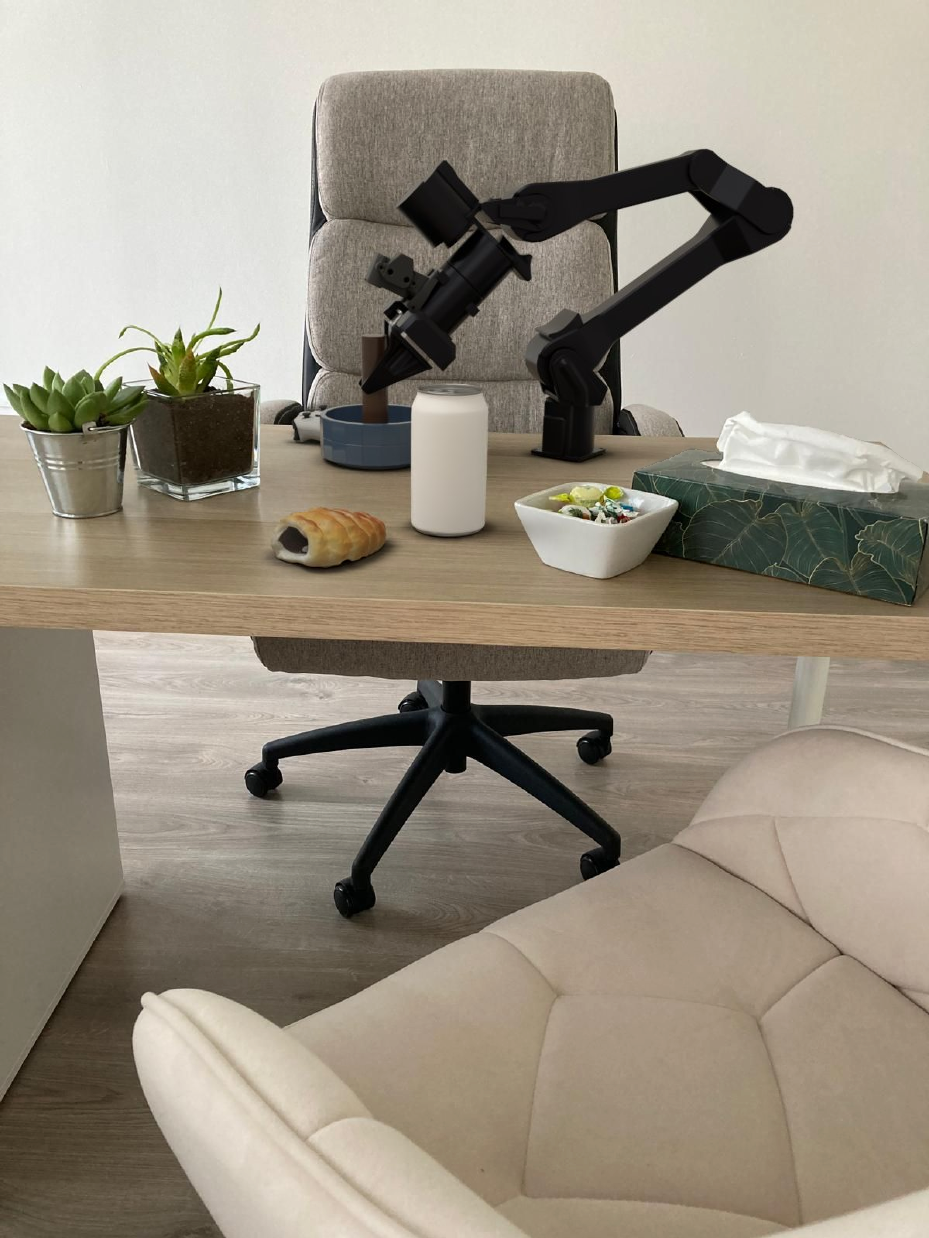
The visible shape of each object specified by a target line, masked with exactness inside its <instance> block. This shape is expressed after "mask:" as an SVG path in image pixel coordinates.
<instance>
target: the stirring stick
mask: <svg viewBox="0 0 929 1238" xmlns="http://www.w3.org/2000/svg"><path fill="white" fill-rule="evenodd" d="M386 348H387V335H384V334H383V333H365V334H360V360H361V363H360V364H361V377H362V384H363V383H364V381H365V380H366V378H367V377H368V375H369V374H370V372H371V371H372V369H373V368H374V366H375V365H376V363H377V362H378V360H379V359H380V357H381V356H382V354H383V353H384V351H385V350H386ZM361 404H362V408H363V423H370V424H384V423H389V420H388V404H389V386H388V387H385V388H383V389H381V390H378V391H376V392H374V393H371V394H369V395H367V394H366V393H365V392H364V391H363V390H362V389H361Z"/></svg>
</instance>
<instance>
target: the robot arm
mask: <svg viewBox="0 0 929 1238" xmlns="http://www.w3.org/2000/svg"><path fill="white" fill-rule="evenodd" d="M686 193H688V194H689V195H691V196H692V197H693V198H694V199H695V201H696V202H698V204H699V205H700V206H701V207H702V208H703V209H704V210H705V211H707V212H708V213H709V215H708V217H707V218H706V220H705V221H704V223H703V224H702V226H700V228H699V230H698V231H697V233H696V234H695V235H694V236H692V238H689V240H687V241H685V243H683V244H682V245H680V246H678V247H677V248H676V249H675V250H673V251H672V252H671V253H669V254H668V255H666V256H665V257H664V258H662V259H660V260H659V261H658V262H657V263H655V264H653V266H651V267H650V268H648V269H647V270H646V271H644V272H642V273H641V274H640V275H639V276H637V277H636V278H635V279H633V280H632V281H630V282H629V283H628V284H626V285H625V286H623V287H622V288H620V289H619V290H618V291H616V292H615V293H614V294H612V295H610V297H608V298H607V299H605V300H604V301H602V302H601V303H600V304H599V305H597V306H595V307H594V308H592V309H591V310H589V311H587V312H584V313H582V314H581V313H579V312H577V311H574V310H571V309H570V308H566V307H563V309H561V310H560V311H558V313H556V315H554V317H552V319H551V320H550V321H548V322H547V323H545V324H543V325H540V326H536V327H535V328H534V331H535V332H537V333H536V334H535V335H534V336H533V337H531V339H530V340H529V341H528V343H527V344H526V349H525V353H524V362H525V366H526V368H527V370H528V373H530V375H531V376H532V377H533V378H534V379H535V380H537V381H538V382H539V386H540V388H541V389H540V390H541V392H542V393H543V395H547V397H546V398H545V400H544V402H543V403H544V405H543V406H544V407H543V417H542V435H541V437H542V438H541V445H539V446H536V447H533V448H530V454H532V455H538V456H543V457H544V456H545V457H550V458H555V459H560V460H566V461H572V462H581V461H585V460H587V459H590V458H593V457H596V456H599V455H601V454H605V453H606V450H607V448H605V447H601V446H596V445H595V436H596V424H597V423H596V421H597V407H601V406H602V405H603V402H604V400H605V397H606V396H607V393H608V391H609V387H608V385H606V383H605V382H604V381H603V380H602V379H601V378H600V376H598V374H596V372H595V371H594V370H595V369H596V368H597V367H598V366H599V365H600V364H601V362H602V361H603V360H604V358H605V357H606V355H607V354H608V352H609V351H610V349H611V348H612V347H613V345H614V344H616V343H617V342H618V341H619V340H620V339H621V338H623V337H624V336H626V334H628V333H630V332H631V331H632V330H634V329H635V328H637V327H638V326H639V325H641V324H642V323H644V322H645V321H647V320H648V319H649V318H651V317H652V316H653V315H655V314H656V313H658V312H659V311H660V310H662V309H664V308H665V307H666V306H668V305H669V304H670V303H672V302H673V301H674V300H676V299H677V298H678V297H680V296H682V294H684V293H686V292H687V291H688V290H690V289H691V288H692V287H694V286H696V285H697V284H698V283H699V282H701V281H702V280H703V279H705V278H706V277H708V276H710V275H711V274H712V273H713V272H715V271H716V270H717V269H719V268H720V267H722V266H724V265H727V264H729V263H732V262H735V261H737V260H740V259H743V258H747V257H749V256H751V255H754V254H756V253H758V252H760V251H762V250H764V249H767V248H768V247H771V246H773V245H774V244H776V243H779V242H780V241H782V240H783V239H784V238H785V237H786V236H787V235H788V234H789V233H790V232H791V230H792V224H793V220H794V217H795V216H794V215H795V213H794V210H795V209H794V204H793V202H792V198H791V197H790V196H789V195H788V193H787V192H786V191H784V190H783V189H782V188H779V187H775V186H765V185H764V184H763V183H761V182H760V181H759V180H757V179H756V178H754V177H752V176H751V175H749V174H747V173H745V172H744V171H742V170H740V169H739V168H736V167H735V166H733V165H732V164H730V163H728V162H727V161H726V160H725V159H723V158H722V157H721V156H719V155H718V154H717V153H716V152H715V151H714V150H712V149H709V148H698V149H690V150H686V151H684V152H682V153H681V154H679V155H675V156H672V157H668V158H664V159H660V160H656V161H651V162H648V163H645V164H641V165H640V164H639V165H637V166H634V167H633V166H632V167H629V168H624V169H621V170H616V171H612V172H609V173H604V174H602V175H597V176H593V177H590V178H585V179H581V180H578V179H577V180H562V181H561V180H559V181H544V182H543V181H542V182H528V183H519V184H516V185H513V186H512V187H510V188H508V189H507V190H506V191H505V192H504V193H503V195H502V197H498V198H493V197H492V196H487V197H486V196H485V197H482V198H481V199H478V197H477V196H476V195H475V194H474V193H473V191H472V190H470V188H469V187H468V186H467V185H466V184H465V183H464V182H463V181H462V179H461V178H460V177H459V176H458V174H457V172H456V170H455V169H454V167H453V166H452V165H451V164H450V163H449V161H448V160H446V159H442V160H440V161H439V162H438V163H437V164H436V165H435V166H434V167H433V168H432V169H431V170H430V171H429V172H428V173H427V174H426V175H425V176H424V177H423V178H422V179H420V181H416V182H415V183H414V184H413V185H412V187H410V189H408V191H407V192H406V193H405V194H404V195H403V196H402V198H401V199H400V200H399V201H398V202H397V204H396V205H395V209H396V210H397V211H398V212H399V213H400V214H401V215H402V217H404V218H405V219H406V221H407V222H408V223H409V224H410V225H411V226H412V227H413V228H414V229H415V230H416V231H417V233H418V234H419V235H421V237H422V238H423V239H424V240H425V241H426V242H427V243H428V244H429V245H430V246H431V248H432V249H436V248H437V247H439V246H441V245H442V244H444V245H443V246H444V247H445V248H446V249H447V250H449V249H451V248H452V247H454V246H455V245H456V244H457V243H458V242H459V241H460V240H461V239H462V238H463V237H464V236H465V235H466V234H467V233H468V232H469V230H470V229H471V228H473V231H472V232H471V233H470V234H469V235H468V236H467V238H465V240H463V242H462V243H461V244H460V245H459V246H458V247H457V248H456V249H455V250H454V251H453V252H452V253H451V255H449V257H448V258H447V259H445V261H444V262H443V263H442V264H441V265H440V266H439V267H434V268H433V267H430V268H429V269H428V270H427V271H426V272H425V273H424V274H422V273H420V272H419V271H416V270H415V268H414V267H415V266H414V262H415V261H414V258H412V257H410V256H408V255H406V254H405V253H403V252H400V251H398V252H397V253H395V254H394V255H393V256H392V257H391V258H390V257H388V256H386V255H384V254H382V253H380V252H378V251H375V252H374V255H373V258H372V260H371V261H370V264H369V267H368V269H367V272H366V273H365V277H364V281H365V282H366V283H368V284H370V285H372V286H374V287H375V288H378V289H385V290H387V291H389V292H391V293H393V294H395V295H397V296H398V297H399V298H397V297H395V298H394V297H393V298H391V299H389V301H388V302H387V303H386V304H385V305H384V306H383V307H382V308H381V309H380V312H381V313H382V314H383V315H385V317H386V318H387V319H388V320H389V321H387V320H386V318H384V317H382V318H381V325H382V334H384V335H387V348H386V350H385V351H384V353H383V354H382V356H381V357H380V359H379V360H378V362H377V363H376V365H375V366H374V368H373V369H372V371H371V372H370V374H369V375H368V377H367V378H366V380H365V381H364V383H363V384H362V376H361V377H360V378H359V380H358V385H359V387H360V390H361V391H362V390H363V391H364V392H365V393H366V394H367V395H369V394H371V393H374V392H376V391H378V390H381V389H383V388H385V387H388V388H389V387H390V386H393V385H394V384H397V383H400V382H401V381H404V380H407V379H409V378H411V377H414V376H416V375H419V374H421V373H424V372H426V371H431V370H433V368H434V367H433V366H432V365H431V363H429V361H430V360H431V361H432V362H433V363H434V365H435V366H436V367H437V368H439V369H440V371H442V372H444V371H446V370H447V368H448V367H449V366H450V365H451V364H452V363H453V362H454V361H455V360H456V359H457V344H455V342H453V338H452V337H451V336H452V335H453V334H454V333H455V332H456V331H457V330H458V329H459V328H460V327H461V326H462V325H463V323H465V322H466V321H467V320H468V318H469V317H472V318H475V317H476V316H477V314H479V313H480V312H481V310H480V309H479V307H480V306H481V305H482V304H483V302H484V301H485V300H487V298H488V297H489V296H490V295H491V294H492V293H493V292H494V291H495V290H496V289H497V288H498V287H499V286H500V285H501V284H502V283H503V282H504V281H505V280H506V278H508V276H509V275H510V274H511V273H512V274H514V275H515V276H516V278H518V279H519V280H520V281H524V282H530V281H531V280H532V278H533V276H532V262H533V254H532V253H520V252H519V251H518V250H517V249H516V248H515V246H514V245H513V244H512V243H511V242H510V241H509V239H508V238H507V237H506V236H508V237H510V238H511V239H513V240H514V241H518V242H524V243H532V244H537V243H543V242H545V241H548V240H550V239H552V238H554V237H556V236H558V235H560V234H562V233H565V232H567V231H569V230H571V229H573V228H575V227H576V226H579V225H580V224H582V223H583V222H586V221H588V220H589V219H591V218H594V217H596V216H600V215H603V214H607V213H611V212H612V213H613V212H615V211H619V210H623V209H627V208H631V207H635V206H639V205H642V204H646V203H650V202H654V201H658V200H661V199H666V198H669V197H673V196H677V195H681V194H686ZM481 222H482V223H485V224H491V225H494V226H499V227H500V228H501V229H502V231H503V232H504V234H506V236H505V235H504V234H503V233H501V234H498V235H496V236H495V237H494V235H492V234H491V233H490V232H489V231H488V229H487V228H486V227H485V226H484V225H483V224H482V223H481ZM400 297H401V298H400Z"/></svg>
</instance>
